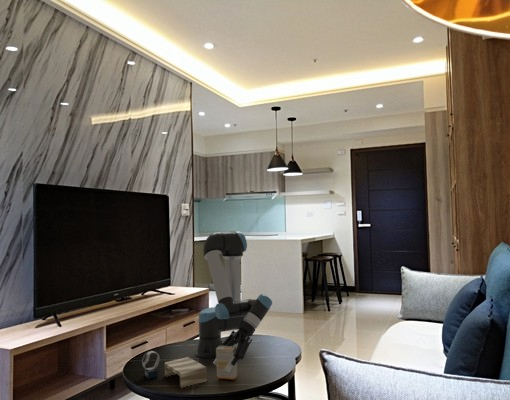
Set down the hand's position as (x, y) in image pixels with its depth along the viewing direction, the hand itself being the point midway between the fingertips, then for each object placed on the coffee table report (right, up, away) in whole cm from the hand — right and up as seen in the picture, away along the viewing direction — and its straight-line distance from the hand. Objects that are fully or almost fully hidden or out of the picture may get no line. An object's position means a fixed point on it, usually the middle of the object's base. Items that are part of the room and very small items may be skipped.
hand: (220, 367), depth 176 cm
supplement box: (+3, -5, +2) cm, 6 cm away
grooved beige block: (-16, -6, +4) cm, 18 cm away
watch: (-33, -7, +8) cm, 35 cm away
